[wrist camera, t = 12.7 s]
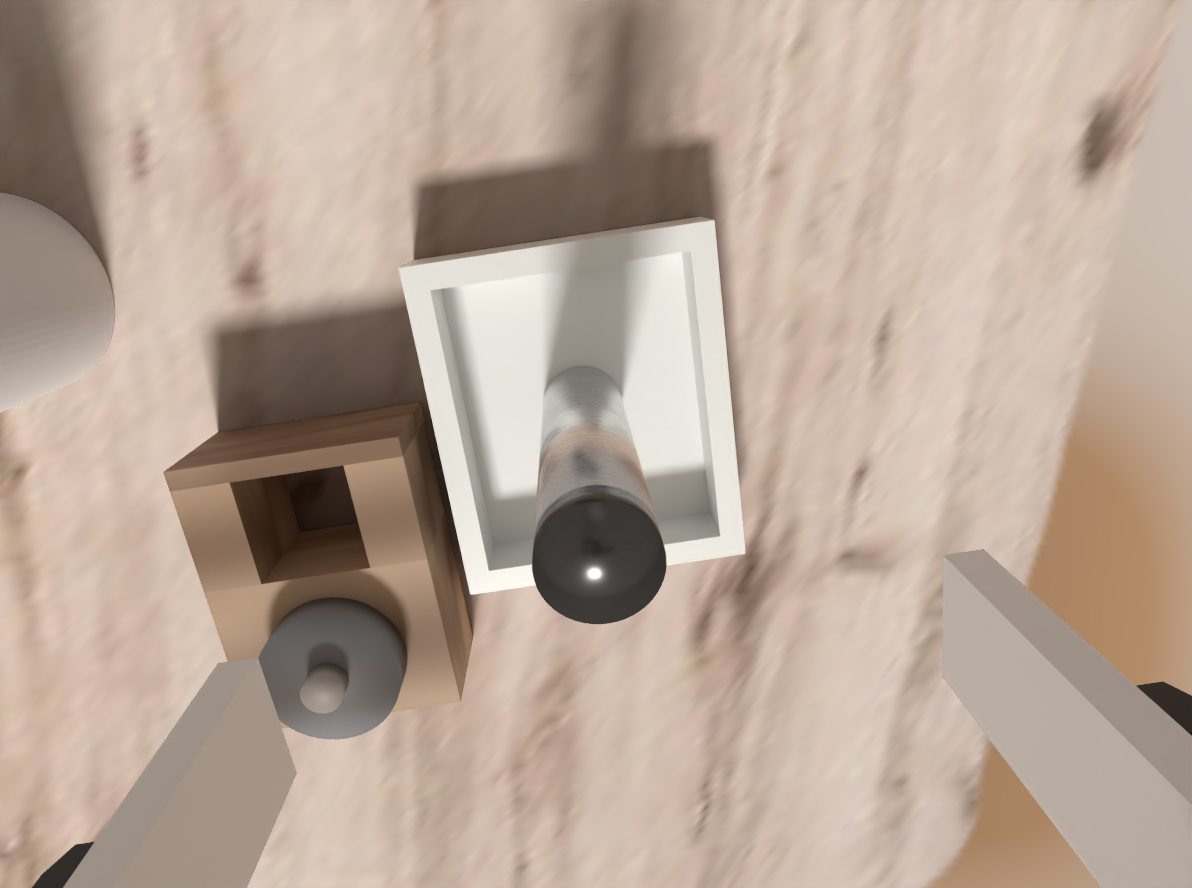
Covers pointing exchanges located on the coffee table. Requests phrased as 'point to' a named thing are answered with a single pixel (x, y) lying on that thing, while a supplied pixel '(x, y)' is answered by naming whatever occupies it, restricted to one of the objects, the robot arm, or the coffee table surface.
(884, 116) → the coffee table surface
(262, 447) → the block
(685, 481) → the tray
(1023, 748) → the robot arm
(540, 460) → the pin
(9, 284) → the white cylinder
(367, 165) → the coffee table surface
